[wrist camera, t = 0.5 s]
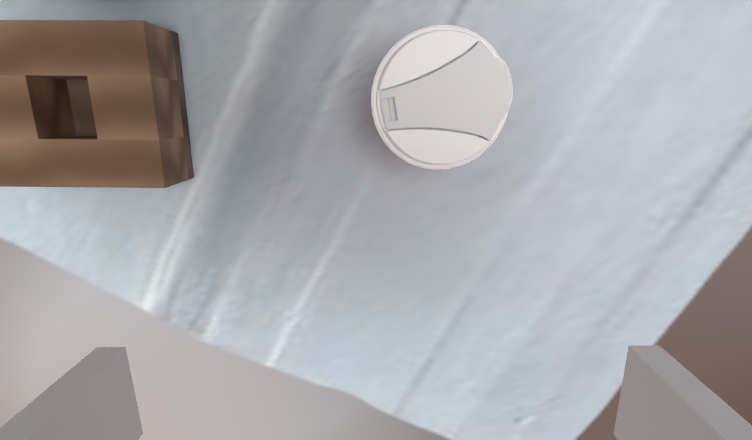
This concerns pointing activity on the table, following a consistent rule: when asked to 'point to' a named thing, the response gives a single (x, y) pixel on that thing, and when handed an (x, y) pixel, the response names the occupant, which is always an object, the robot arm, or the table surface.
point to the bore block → (91, 105)
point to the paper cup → (441, 97)
